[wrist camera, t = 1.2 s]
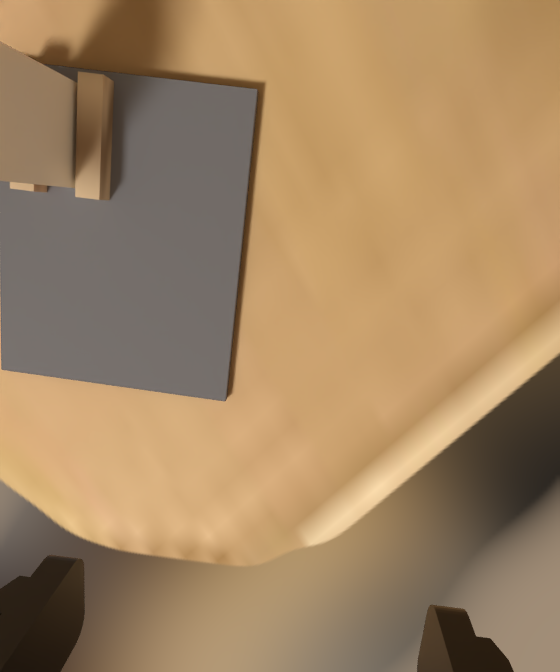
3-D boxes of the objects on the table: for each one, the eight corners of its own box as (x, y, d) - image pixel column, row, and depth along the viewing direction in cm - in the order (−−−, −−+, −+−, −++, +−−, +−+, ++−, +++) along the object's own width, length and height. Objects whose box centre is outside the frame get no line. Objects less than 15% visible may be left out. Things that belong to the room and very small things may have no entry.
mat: (2, 61, 31) (-4, 58, 31) (258, 91, 31) (257, 89, 30) (6, 367, 36) (1, 369, 36) (226, 398, 36) (225, 401, 35)
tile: (52, 83, 31) (-52, 32, 22) (84, 86, 31) (-7, 37, 22) (51, 185, 32) (-47, 175, 24) (82, 188, 32) (-5, 180, 23)
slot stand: (24, 70, 31) (8, 63, 29) (114, 81, 31) (103, 74, 29) (24, 189, 32) (9, 188, 31) (109, 200, 32) (99, 199, 31)
